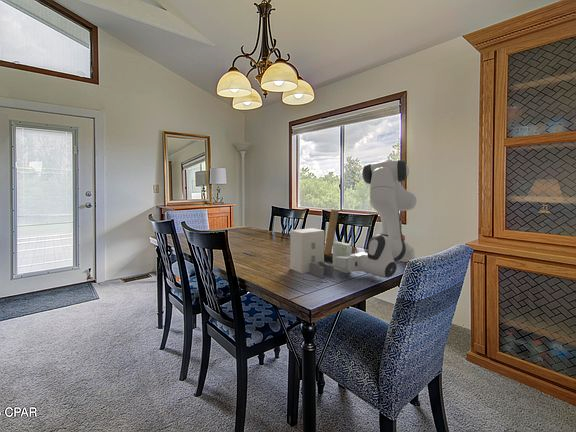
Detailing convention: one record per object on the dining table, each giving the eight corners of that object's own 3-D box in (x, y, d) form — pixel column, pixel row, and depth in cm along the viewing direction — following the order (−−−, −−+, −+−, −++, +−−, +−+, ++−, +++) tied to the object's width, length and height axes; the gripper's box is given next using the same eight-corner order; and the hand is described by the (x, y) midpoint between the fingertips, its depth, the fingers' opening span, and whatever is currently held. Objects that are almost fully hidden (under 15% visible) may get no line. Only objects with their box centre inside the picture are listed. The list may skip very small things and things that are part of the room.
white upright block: (350, 272, 154) (351, 244, 152) (344, 273, 152) (345, 245, 150) (336, 267, 162) (337, 241, 161) (331, 268, 160) (331, 242, 159)
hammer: (343, 266, 173) (353, 214, 165) (338, 268, 169) (348, 215, 162) (316, 254, 186) (324, 205, 179) (311, 255, 183) (318, 206, 175)
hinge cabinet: (339, 274, 150) (339, 233, 148) (316, 279, 142) (316, 236, 140) (312, 264, 168) (312, 228, 166) (290, 268, 160) (290, 230, 158)
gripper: (379, 252, 149) (358, 247, 161) (347, 257, 138) (327, 252, 150) (378, 265, 150) (357, 259, 161) (347, 271, 139) (327, 264, 150)
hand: (343, 255), depth 155 cm, fingers closed on white upright block, 3 cm apart
